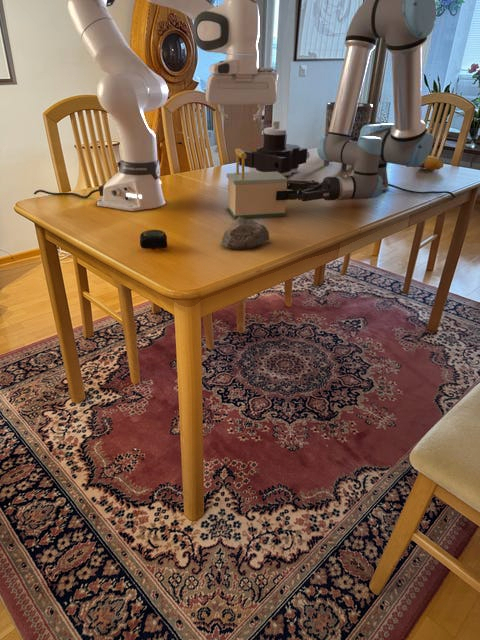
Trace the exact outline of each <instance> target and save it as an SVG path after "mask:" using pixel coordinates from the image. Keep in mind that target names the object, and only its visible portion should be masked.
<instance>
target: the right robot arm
mask: <svg viewBox="0 0 480 640" xmlns="http://www.w3.org/2000/svg"><path fill="white" fill-rule="evenodd" d="M436 19H437V4H436V0H364V1H363V2H362V3H361V5H359V7H358V9H357V10H356V12H355V13H354V15H353V17H352V19H351V21H350V23H349V25H348V28H347V30H346V31H347V32H346V35H345V40H344V45H345V47H346V50H345V55H344V59H343V64H342V69H341V73H340V78H339V83H338V86H337V92H336V96H335V101H334V102H335V105H334V110H333V114H332V119H331V123H330V128H329V132H328V137H325V136H323V137H322V138H320V140H319V143H318V144H317V150H316V151H317V155H318V157H319V158H320V159H321V160H323V161H324V160H327V161H330V162H329V163H337V164H342V163H343V164H347V166H352V167H353V171H351V174H350V175H348V174H344V176H326V177H324V178H323V179H322V182H321V183H320V181H315V180H314V179H313V180H296V179H287V191H277V195H276V200H286V201H293V200H297V201H301V202H311V201H317V200H324V201H327V202H328V201H349V200H371V199H375V198H378V197H380V196H381V194H382V192H386V191H388V189H389V187H391V188H395V189H397V190H399V191H403V192H407V193H412V194H419V195H420V194H421V195H424V194H448V195H450V196H452V197H453V198H456V195H455V194H454V193H453V192H451V191H448V190H440V191H436V190H431V191H420V190H419V191H418V190H410V189H406V188H402V187H400V186H397V185H394V184H390V183H389V178H388V173H387V172H388V171H387V166H388V164H393V165H398V166H403V167H404V166H405V167H406V168H419V166H421V165H422V164H423V163H424V162H425V161H426V159H427V157H428V156H430V154H431V151H432V148H433V145H434V135H433V133H430V132H427V124H426V122H424V121H423V120H422V76H423V75H422V73H423V71H422V67H423V66H422V62H423V61H422V60H423V59H422V54H423V52H422V51H423V49H422V48H423V46H424V44H425V43H426V42H427V40H428V36H430V34H431V33H432V31H434V27H435V22H436ZM379 39H385V48H386V50H387V51H388V52H390V53H391V72H392V93H393V94H392V97H393V117H394V118H393V120H394V123H373V124H369V125H365V126H363V127H362V128H361V132H360V136H359V139H358V141H351V140H350V137H351V132H352V128H353V124H354V119H355V115H356V111H357V107H358V103H360V98H361V94H362V90H363V87H364V86H363V85H364V81H365V77H366V73H367V69H368V65H369V61H370V56H371V53H372V51H373V50H374V49H376V46H377V42H378V40H379Z"/></svg>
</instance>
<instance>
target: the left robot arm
mask: <svg viewBox="0 0 480 640" xmlns="http://www.w3.org/2000/svg"><path fill="white" fill-rule="evenodd" d="M146 1H147V2H149V3H151V4H153V5H157V6H161V7H166V8H169V9H172V10H176V11H178V12H180V13H183V14H184V15H186V17H188V18H189V19H190V20H192V21H193V24H192V38H193V40H194V42H195V44H196V46H197V47H198V48H199V49H200V50H202V51H205V52H207V53H215V54H216V53H217V54H219V53H220V54H224V55H225V57H226V58H225V59H224V60H220V61H218V62H215V63H213V64H211V65H210V66H209V72H210V75H208V77H207V80H206V86H205V101H206V102H207V103H208V104H209V105H217V107H218V108H217V109H218V110H219V112H220V114H221V121H222V122H223V123H225V122H226V123H228V122H229V114H226V113H225V111H224V109H225V108H226V107H225V105H257V108H258V110H257V112H256V113H254V114H253V122H261V116H262V113H263V112H264V109H265V105H275V104H276V102H277V100H278V92H277V83H278V79H279V78H278V77H279V74H278V72H277V70H276V69H274V68H273V67H262V66H261V67H260V66H259V56H260V55H259V53H260V52H259V47H258V43H259V39H260V11H259V10H260V9H259V4H258V3H257V2H258V1H256V0H224V1H223V2H221V3H220V4H218V5H216V6H214V5H213V4H212V3H211V2H209V1H208V0H146ZM115 2H116V0H68V1H67V12H68V14H69V17H70V19H71V22H72V24H73V26H74V28H75V31H76V32H77V34H78V36H79V38H80V40H81V42H82V43H83V45H84V47H85V48H86V50H87V52H88V53H89V55H90V57H91V59H92V60H93V62H94V63H95V65H96V67H98V68H99V69H100V70H101V71H103V72H105V73H106V74H108V75H105V76H103V77H102V78H100V79H99V81H98V83H97V86H96V96H97V100H98V102H99V105H100V106H101V108H102V109H103V110H104V111H105V112H106V113H108V114H109V116H110V117H111V119H112V120H113V122H114V124H115V127H116V130H117V132H118V136H119V143H120V149H121V158H122V159H121V160H119V161H118V162H116V163H115V165H116V166H115V168H118V171H117V172H116V173H115V174H113V176H112V177H110V179H108V180H107V182H105V183H104V184H101V185H99V186H98V188H96V189H93V190H91V191H90V192H89V193H88V194H87V195H82V194H79V193H75V192H52V191H48V190H44V189H37V190H35V191H34V192H33V195H37V194H38V193H43V194H46V195H50V196H75V197H78V198H81V199H88V198H90V197H91V195H92V194H94V193H97V192H98V193H99V196H100V198H98V199H97V201H96V205H97V206H98V207H104V208H109V209H110V208H111V209H115V210H116V209H117V210H123V211H130V212H139V211H143V210H150V209H156V208H160V207H162V206H164V205H165V204H166V200H165V196H164V194H163V190H162V181H161V180H160V178H161V167H160V160H159V159H158V147H157V136H156V135H157V134H156V133H155V131H154V130H153V129H151V128H150V127H149V125H148V123H147V121H146V117H145V114H144V113H146V112H147V113H148V112H153V111H155V110H158V109H159V108H161V107H163V106H164V105H165V104H166V103H167V101H168V98H169V88H168V85H167V83H166V80H165V79H164V78H163V77H162V76H161V75H160V74H157V73H156V72H154V71H153V70H152V69H150V68H149V67H148V65H147V64H146V63H145V62H144V61H143V60H142V59H141V58H140V57H139V56H138V55H137V54H136V53H135V52H134V50H133V49H132V48H131V46H130V45H129V43H128V42H127V41H126V38H125V37H124V35H123V34H122V32H121V30H120V29H119V27H118V25H117V24H116V22H115V20H114V19H113V17H112V15H111V14H110V12H109V9H108V7H112V6H113V5H114V3H115Z"/></svg>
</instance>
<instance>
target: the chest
mask: <svg viewBox="0 0 480 640" xmlns="http://www.w3.org/2000/svg"><path fill="white" fill-rule="evenodd" d="M227 185H228V186H227V189H228V190H227V194H228V195H227V197H228V198H227V210H228V211H229V213H230V214H231V216H232V217H233V218H234V220H237V218H238V217H242V218H245V219H258V218H275V217H286V206H287V205H286V204H287V200H276V195H277V191H288V190H287V182H286V183H261V184H237V185H234V184H233V183H232V182H231V181H230V180H229V179H228V178H227Z"/></svg>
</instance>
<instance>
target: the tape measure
mask: <svg viewBox="0 0 480 640" xmlns="http://www.w3.org/2000/svg"><path fill="white" fill-rule="evenodd" d="M167 236H168V235H167V234H166V232H165V231H164V230H161V229H147V230H144V231H143V232H141V233H140V235H139V240H140V241H139V245H140V246H139V247H141V248H142V249H146V250H157V249H167V248H168V240H167V239H168V237H167Z"/></svg>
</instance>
